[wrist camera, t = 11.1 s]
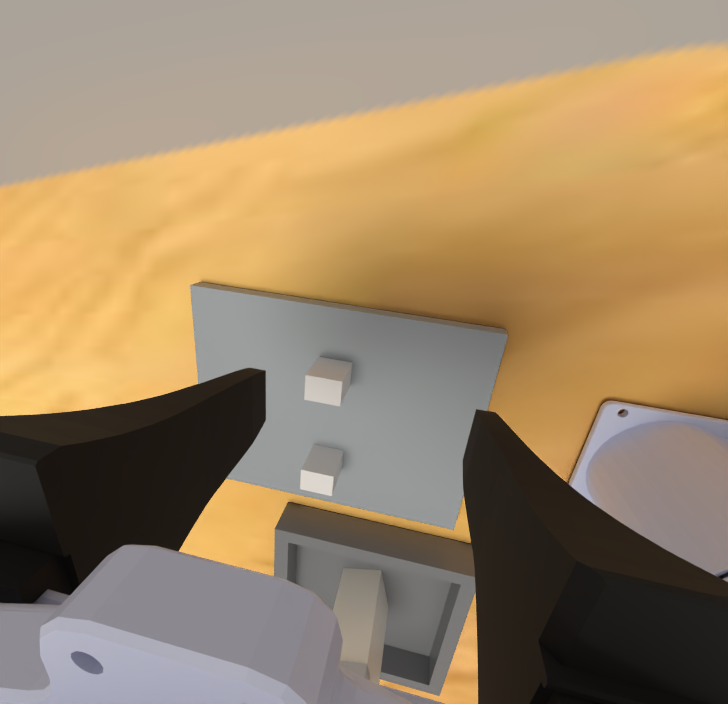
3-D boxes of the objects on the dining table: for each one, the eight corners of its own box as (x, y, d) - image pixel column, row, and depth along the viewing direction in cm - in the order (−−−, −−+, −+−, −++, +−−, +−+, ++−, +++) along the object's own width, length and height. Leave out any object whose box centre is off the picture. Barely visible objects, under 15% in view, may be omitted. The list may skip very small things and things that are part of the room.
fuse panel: (505, 329, 20) (518, 352, 16) (453, 518, 25) (455, 563, 22) (200, 282, 22) (160, 294, 19) (213, 464, 27) (184, 499, 24)
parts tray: (475, 545, 26) (479, 578, 23) (439, 660, 31) (439, 695, 29) (288, 502, 27) (274, 528, 25) (284, 617, 33) (273, 648, 30)
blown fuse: (381, 569, 28) (364, 679, 21) (388, 606, 29) (375, 719, 22) (343, 567, 28) (316, 673, 22) (352, 603, 30) (329, 712, 23)
